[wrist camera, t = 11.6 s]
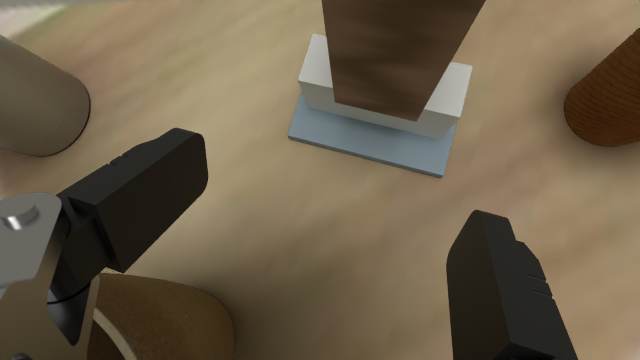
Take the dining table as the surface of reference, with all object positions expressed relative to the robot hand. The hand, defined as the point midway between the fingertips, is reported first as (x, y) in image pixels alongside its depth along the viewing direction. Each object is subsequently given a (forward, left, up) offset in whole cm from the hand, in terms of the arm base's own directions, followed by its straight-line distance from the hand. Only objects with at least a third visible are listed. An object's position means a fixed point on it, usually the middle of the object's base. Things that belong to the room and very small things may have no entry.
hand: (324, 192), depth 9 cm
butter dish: (-3, +11, -18) cm, 21 cm away
